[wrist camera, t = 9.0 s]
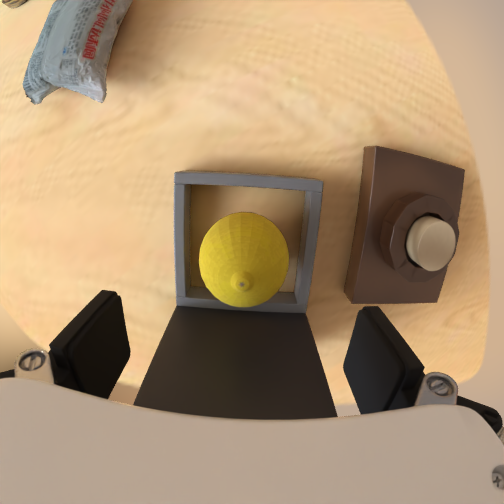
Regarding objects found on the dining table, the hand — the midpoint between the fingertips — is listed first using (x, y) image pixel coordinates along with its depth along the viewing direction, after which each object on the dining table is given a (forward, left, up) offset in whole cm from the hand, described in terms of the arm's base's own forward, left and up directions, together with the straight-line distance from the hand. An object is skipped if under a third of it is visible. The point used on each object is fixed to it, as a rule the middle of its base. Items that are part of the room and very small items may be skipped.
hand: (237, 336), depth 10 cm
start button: (-2, +13, -8) cm, 16 cm away
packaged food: (-17, -14, -12) cm, 25 cm away
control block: (-2, +13, -12) cm, 18 cm away
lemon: (0, 0, -12) cm, 12 cm away
